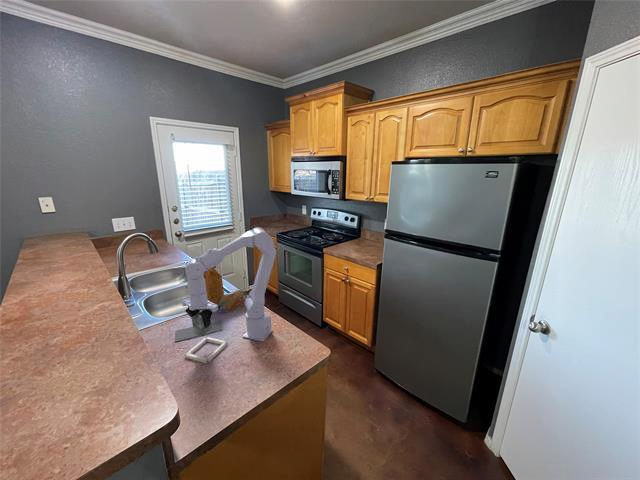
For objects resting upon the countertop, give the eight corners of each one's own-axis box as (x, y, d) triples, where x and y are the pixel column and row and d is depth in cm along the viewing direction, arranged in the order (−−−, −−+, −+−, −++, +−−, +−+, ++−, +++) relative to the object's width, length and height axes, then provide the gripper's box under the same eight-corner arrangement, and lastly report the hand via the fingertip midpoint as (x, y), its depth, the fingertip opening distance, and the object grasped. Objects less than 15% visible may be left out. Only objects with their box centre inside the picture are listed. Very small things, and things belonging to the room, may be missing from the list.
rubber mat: (220, 320, 117) (220, 319, 117) (222, 330, 110) (222, 329, 110) (175, 331, 110) (175, 330, 109) (174, 342, 103) (174, 341, 103)
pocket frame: (227, 344, 101) (227, 341, 101) (207, 363, 91) (207, 360, 91) (206, 339, 105) (206, 336, 104) (185, 357, 95) (184, 354, 94)
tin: (219, 315, 121) (217, 299, 119) (216, 313, 124) (214, 297, 121) (248, 304, 132) (247, 289, 129) (245, 302, 134) (243, 287, 132)
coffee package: (217, 296, 140) (212, 257, 134) (227, 304, 132) (223, 263, 126) (198, 302, 133) (192, 262, 128) (207, 311, 125) (202, 268, 119)
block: (212, 328, 100) (209, 312, 98) (202, 336, 95) (200, 319, 94) (203, 326, 101) (201, 310, 99) (193, 334, 97) (191, 317, 95)
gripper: (173, 294, 93) (178, 327, 96) (206, 300, 88) (210, 335, 92) (188, 286, 99) (193, 317, 103) (220, 291, 95) (223, 324, 98)
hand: (202, 325), depth 98 cm, fingers closed on block, 4 cm apart
